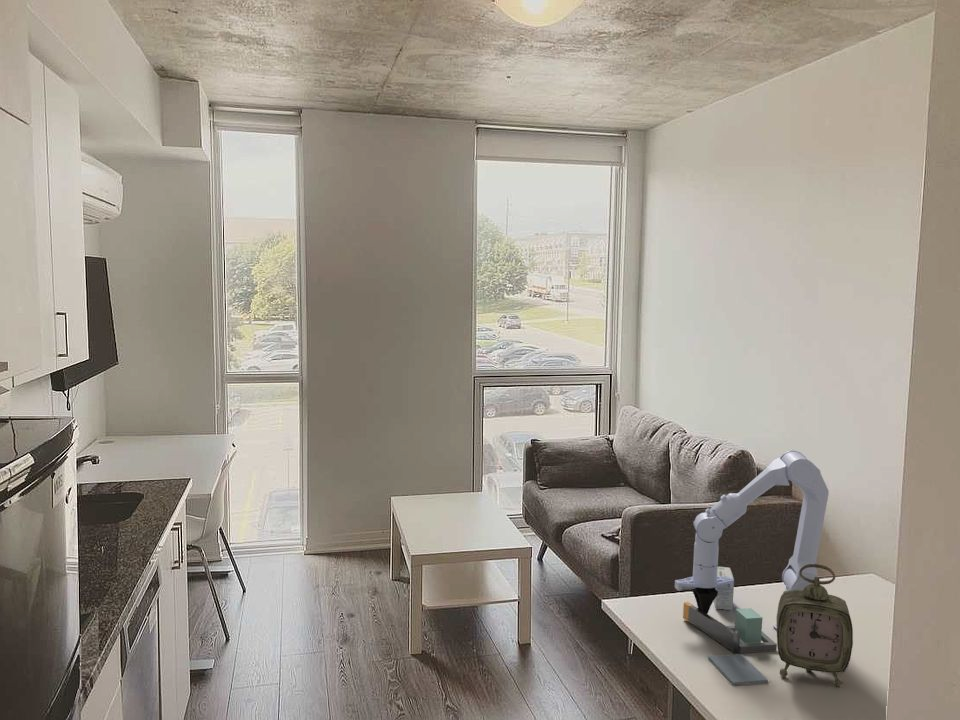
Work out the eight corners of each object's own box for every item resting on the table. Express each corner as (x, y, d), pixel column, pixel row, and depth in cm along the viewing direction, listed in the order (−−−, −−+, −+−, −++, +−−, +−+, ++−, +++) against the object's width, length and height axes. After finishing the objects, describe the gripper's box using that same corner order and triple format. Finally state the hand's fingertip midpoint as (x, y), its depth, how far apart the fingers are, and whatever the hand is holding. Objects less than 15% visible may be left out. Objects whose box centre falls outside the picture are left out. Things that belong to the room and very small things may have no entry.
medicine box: (732, 611, 193) (734, 578, 192) (714, 609, 194) (716, 577, 193) (729, 598, 201) (730, 567, 200) (711, 596, 202) (713, 565, 201)
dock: (753, 630, 183) (754, 624, 183) (776, 650, 173) (776, 644, 173) (719, 632, 181) (719, 626, 181) (740, 653, 172) (740, 646, 171)
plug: (750, 634, 181) (752, 606, 180) (764, 647, 175) (766, 618, 174) (730, 636, 180) (732, 608, 179) (743, 648, 174) (745, 619, 173)
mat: (741, 656, 170) (741, 653, 170) (767, 682, 159) (767, 679, 159) (708, 658, 169) (708, 656, 169) (732, 685, 158) (732, 682, 158)
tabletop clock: (773, 678, 161) (781, 566, 158) (773, 659, 169) (780, 551, 166) (848, 693, 156) (858, 577, 153) (844, 672, 164) (853, 561, 162)
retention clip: (687, 617, 188) (688, 599, 188) (740, 652, 171) (741, 632, 170) (682, 618, 188) (683, 600, 187) (735, 654, 170) (736, 633, 170)
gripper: (725, 555, 188) (722, 607, 190) (670, 557, 186) (668, 610, 187) (739, 566, 181) (736, 620, 183) (682, 569, 179) (680, 623, 180)
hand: (702, 616), depth 185 cm, fingers closed
